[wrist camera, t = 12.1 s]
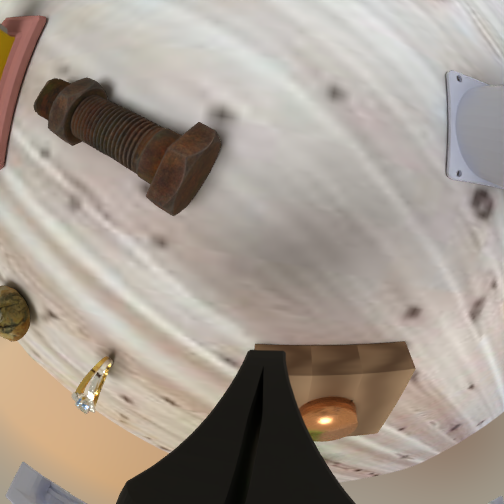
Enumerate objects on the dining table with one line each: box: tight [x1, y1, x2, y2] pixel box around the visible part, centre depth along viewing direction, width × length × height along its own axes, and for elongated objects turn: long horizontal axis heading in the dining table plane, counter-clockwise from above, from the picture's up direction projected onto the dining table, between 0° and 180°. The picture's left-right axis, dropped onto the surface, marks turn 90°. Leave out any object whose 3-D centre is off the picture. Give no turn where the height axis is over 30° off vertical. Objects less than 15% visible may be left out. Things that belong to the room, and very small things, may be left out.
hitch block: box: [254, 342, 416, 437], centre depth 24 cm, size 14×12×4 cm
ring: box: [72, 356, 113, 413], centre depth 25 cm, size 7×3×8 cm, turn 146°
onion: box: [0, 286, 30, 341], centre depth 24 cm, size 8×8×8 cm
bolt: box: [34, 78, 221, 216], centre depth 15 cm, size 6×5×15 cm
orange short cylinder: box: [299, 397, 358, 441], centre depth 22 cm, size 6×6×5 cm
